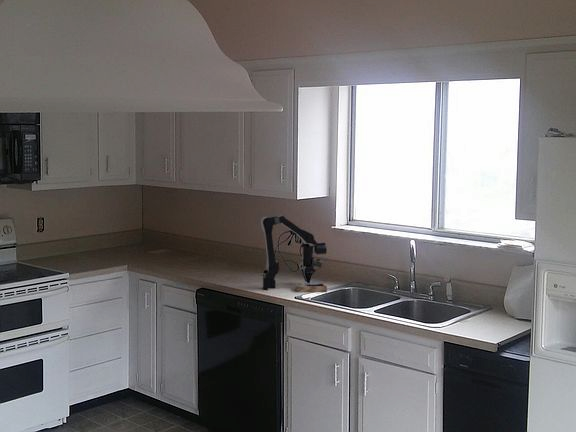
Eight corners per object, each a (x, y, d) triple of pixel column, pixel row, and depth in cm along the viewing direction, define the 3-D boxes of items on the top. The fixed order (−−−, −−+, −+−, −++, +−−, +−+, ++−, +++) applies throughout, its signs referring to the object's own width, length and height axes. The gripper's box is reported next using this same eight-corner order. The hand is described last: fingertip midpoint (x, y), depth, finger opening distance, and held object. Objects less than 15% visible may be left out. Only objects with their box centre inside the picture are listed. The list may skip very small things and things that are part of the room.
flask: (306, 284, 406) (304, 282, 417) (306, 289, 406) (304, 287, 417) (323, 283, 407) (320, 281, 417) (323, 289, 407) (321, 286, 417)
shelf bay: (297, 292, 400) (298, 286, 399) (295, 288, 411) (295, 283, 411) (326, 292, 401) (326, 286, 401) (323, 288, 413) (323, 283, 413)
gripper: (324, 257, 411) (324, 285, 412) (319, 252, 429) (318, 279, 430) (304, 257, 409) (304, 285, 410) (299, 252, 428) (299, 280, 429)
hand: (307, 282), depth 420 cm, fingers open, 7 cm apart
